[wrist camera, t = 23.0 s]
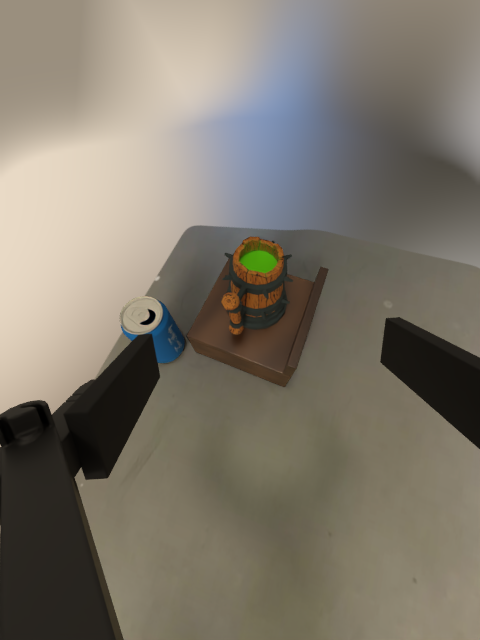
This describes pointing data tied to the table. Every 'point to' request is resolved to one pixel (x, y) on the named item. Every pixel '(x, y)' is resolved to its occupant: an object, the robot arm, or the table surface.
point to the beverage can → (153, 326)
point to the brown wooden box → (258, 331)
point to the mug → (256, 285)
